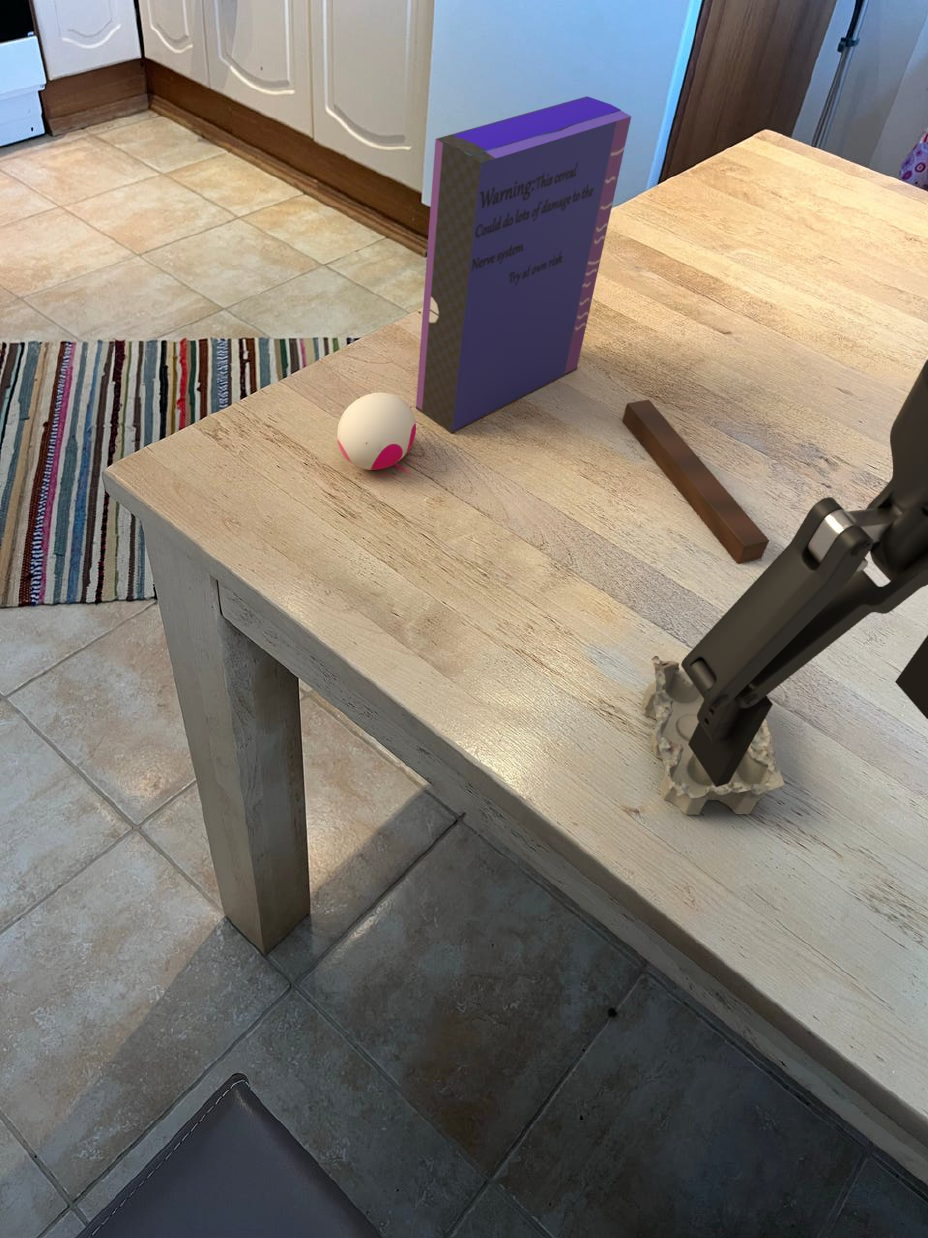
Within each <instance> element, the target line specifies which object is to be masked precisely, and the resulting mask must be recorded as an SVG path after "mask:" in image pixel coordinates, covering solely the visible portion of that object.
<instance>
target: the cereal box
mask: <svg viewBox="0 0 928 1238" xmlns="http://www.w3.org/2000/svg"><path fill="white" fill-rule="evenodd" d="M631 120H632V116H631V115H630V114H628V113H626V112H625V111H623V110H622V109H620V108H618V107H617V106H615V105H613V104H611V103H608V102H605V101H602V100H599V99H596V98H594V97H591V96H587V95H586V96H583V97H579V98H576V99H573V100H569V101H565V102H562V103H558V104H555V105H550V106H548V107H544V108H541V109H537V110H533V111H529V112H526V113H523V114H519V115H516V116H512V117H508V118H505V119H501V120H498V121H494V122H490V123H487V124H484V125H480V126H476V127H472V128H469V129H465V130H463V131H458V132H454V133H452V134H448V135H443V136H441V137H436V138H435V140H434V155H433V169H432V184H431V194H430V195H431V197H430V209H429V224H428V237H427V238H428V239H427V251H426V262H425V263H426V264H425V278H424V291H423V303H422V304H423V306H422V317H421V331H420V334H421V335H420V347H419V360H418V371H417V372H418V373H417V385H416V400H415V410H417V411H419V412H420V413H422V414H423V415H425V416H426V417H428V418H429V419H430V420H432V422H434V423H436V424H437V425H439V426H440V427H442V428H443V429H444V430H446V431H447V432H449V433H450V434H454V433H456V432H458V431H460V430H461V429H464V428H466V427H467V426H470V425H472V424H473V423H475V422H478V421H479V420H481V419H484V418H485V417H487V416H489V415H491V414H493V413H495V412H497V411H498V410H501V409H503V408H504V407H507V406H508V405H510V404H512V403H514V402H516V401H518V400H519V399H522V398H524V397H526V396H527V395H530V394H532V393H534V392H535V391H538V390H540V389H541V388H544V387H545V386H547V385H549V384H551V383H553V382H555V381H557V380H559V379H561V378H563V377H565V376H567V375H569V374H571V373H573V372H575V371H577V369H578V366H579V361H580V356H581V352H582V348H583V343H584V338H585V334H586V330H587V329H586V328H587V325H588V320H589V314H590V311H591V306H592V300H593V297H594V296H593V295H594V292H595V286H596V282H597V277H598V273H599V270H600V264H601V259H602V255H603V250H604V245H605V241H606V236H607V233H608V232H607V231H608V226H609V221H610V217H611V212H612V209H613V204H614V199H615V195H616V189H617V185H618V180H619V176H620V170H621V166H622V162H623V157H624V153H625V148H626V143H627V139H628V135H629V129H630V125H631Z"/></svg>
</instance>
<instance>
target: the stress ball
mask: <svg viewBox="0 0 928 1238" xmlns="http://www.w3.org/2000/svg"><path fill="white" fill-rule="evenodd" d="M412 408H413V405H411V406H410V405H409V404H408V403H407V402H406V401H405V400H404V399H403V398H401V397H399V396H397V395H395V394H393V393H389V392H371V393H367V394H365V395H363V396H361V397H359V398H358V399H356V400H354V401H353V402H352V403H351V404H350V405H349V406H348V407H347V408H346V409H345V411H344V412H343V413H342V415H341V417H340V420H339V422H338V426H337V431H336V438H337V444H338V447H339V450H340V452H341V454H342V455H343V456H344V458H345V459H346V461H348V462H349V463H350V464H352V465H353V466H355V467H357V468H360V469H362V470H368V471H374V470H375V471H376V470H383V469H386V468H389V467H392V466H395V467H396V468H398V469H400V470H402V471H405V472H407V473H408V474H411V475H413V473H412V472H410V471H408V470H407V469H405V468H404V467H402V466H401V465H399V464H397V463H398V462H399V461H400V460H401V459H402V458H404V457H405V456H406V455H407V454H408V452H409V450H410V449H411V448H412V446H413V443H414V441H415V439H416V433H417V421H416V416H415V414H414V412H413V410H412Z"/></svg>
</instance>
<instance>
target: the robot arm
mask: <svg viewBox="0 0 928 1238" xmlns="http://www.w3.org/2000/svg"><path fill="white" fill-rule="evenodd" d="M889 444H890V445H889V447H890V452H891V458H892V459H891V460H892V477H891V479H890V480H889V481H888V483H887V484H886V485H885V487H884V488H882V490H881V491H880V492H879V493H878V494H877V496H875V497H874V498H873V499H872V500H871V501H870V503H869V504H867V506H866V508H865V509H856V510H848V511H847V510H845V509H844V508H843V507H842V506H841V504H839V503H838V501H837V500H836V499H835V498H834V497H833V496H831V497H830V496H828V497H824V498H822V499H820V500H818V501H817V502H816V503H815V504H813V506H811V508H809V511H808V513H807V514H806V516H805V517H804V518H803V521H802V523H801V524H800V526H799V528H798V529H797V531H796V533H795V534H794V536H793V538H792V539H791V542H790V543H789V544H788V545H787V546H786V547H785V548H784V549H783V550H782V551H781V553H780V554H778V556H777V557H776V558H774V560H773V561H772V562H771V563H770V564H769V565H768V566H767V568H766V569H764V571H763V572H762V573H761V574H760V575H759V576H758V578H756V580H755V581H754V582H753V583H752V584H751V585H750V586H749V587H748V588H747V589H746V590H745V592H744V593H743V594H742V595H741V596H740V597H739V598H738V599H737V600H736V602H735V603H734V604H732V605H731V607H730V608H729V609H728V610H727V611H726V612H725V613H724V614H723V616H721V618H720V619H719V620H718V621H717V622H716V623H715V624H714V625H713V626H712V627H711V629H710V630H709V631H708V632H707V633H706V634H705V635H704V636H703V637H702V639H700V641H698V643H697V644H695V646H694V647H693V648H692V649H691V650H690V651H689V652H688V654H686V656H685V657H684V658H683V659H682V660H681V664H680V666H681V668H682V670H684V671H685V672H686V674H687V675H688V677H689V678H690V680H691V681H692V682H693V684H694V685H695V687H696V688H697V690H698V691H699V693H700V694H701V696H702V697H703V698H704V701H703V703H702V705H701V708H700V709H699V711H698V713H697V720H698V721H699V722H698V724H697V726H696V729H695V731H694V733H693V735H692V737H691V739H690V741H689V743H688V745H689V747H690V748H691V750H692V751H693V753H694V754H695V756H696V757H697V759H698V760H699V762H700V763H701V765H702V767H703V768H704V770H705V771H706V773H707V774H708V776H709V777H710V779H711V780H712V782H713V783H714V785H715V787H719V786H722V785H725V784H728V783H729V782H730V780H731V778H732V777H733V775H734V773H735V771H736V769H737V768H738V766H739V764H740V762H741V760H742V759H743V757H744V755H745V753H746V751H747V750H748V748H749V746H750V744H751V743H752V741H753V739H754V737H755V735H756V734H757V732H758V730H759V728H760V726H761V725H762V723H763V721H764V719H765V717H766V718H767V715H768V714H769V712H770V710H771V709H772V707H773V705H774V703H773V702H772V701H771V700H770V698H769V697H768V695H769V694H771V692H772V691H774V690H775V689H776V688H777V687H779V686H780V685H781V684H783V683H784V682H786V681H787V680H788V679H789V678H790V677H792V676H794V674H796V673H797V672H798V671H799V670H801V669H802V668H803V667H804V666H805V665H807V664H808V663H810V662H811V661H812V660H813V659H814V658H816V657H817V656H818V655H819V654H821V653H822V652H824V650H826V649H827V648H828V647H830V646H832V644H833V643H834V642H836V641H837V640H838V639H840V638H841V637H842V636H843V635H845V634H846V633H847V632H849V631H850V630H851V629H852V628H854V627H855V626H856V625H858V624H859V623H860V622H861V621H862V620H863V619H864V618H867V616H869V615H870V614H873V613H877V614H881V615H884V614H888V613H890V612H892V611H894V609H896V608H898V607H899V606H900V605H901V604H903V602H905V601H906V600H908V599H909V598H910V597H911V596H912V595H914V594H916V592H918V591H919V590H920V589H922V588H925V587H927V586H928V358H927V360H925V362H924V364H923V365H922V367H921V370H920V372H919V373H918V375H917V377H916V379H915V381H914V383H913V385H912V387H911V389H910V390H909V392H908V395H907V396H906V398H905V400H904V401H903V404H902V406H901V408H900V410H899V412H898V413H897V416H896V417H895V419H894V421H893V423H892V426H891V429H890V434H889ZM868 554H870V558H871V561H872V563H873V565H875V567H877V569H878V570H879V571H880V572H881V573H882V574H883V576H885V577H886V578H887V580H888V581H889V582H887V583H886V584H885V585H881V586H879V585H878V584H877V583H876V582H875V581H874V580H873V579H872V578H871V577H870V576H869V574H867V573H866V571H865V569H866V568H868V564H869V561H868V560H867V559H866V557H867V556H868ZM894 683H895V684H896V685H897V686H898V687H899V689H901V691H902V692H903V693H904V694H905V696H906V697H907V698H908V699H909V700H910V701H911V702H912V704H913V705H914V706H915V707H916V708H917V709H918V710H919V712H920V713H921V714H922V715H923V716H924V717H925V719H926V720H928V634H927V635H926V636H925V638H924V640H923V641H922V642H921V643H920V645H919V646H918V648H917V650H916V651H915V652H914V654H913V655H912V657H911V658H910V660H909V661H908V663H907V664H906V666H905V667H904V668H903V669H902V671H901V672H900V674H899V676H898V677H897V678H896V680H895V681H894Z"/></svg>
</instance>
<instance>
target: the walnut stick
mask: <svg viewBox="0 0 928 1238" xmlns="http://www.w3.org/2000/svg"><path fill="white" fill-rule="evenodd" d="M622 423H623V424H624V425H625V426H626V428H627V429H628V430H629V432H631V434H632V435H633V436H634V438H635V439H636V440H637V441H638V442H639V444H640V445H641V446H642V447H643V448H644V450H645V451H646V452H647V454H648V455H649V456H650V457H651V458H652V460H653V461H654V462H655V464H656V465H657V466H658V467H659V468H660V470H661V471H662V472H663V474H665V476H666V477H667V479H669V481H670V482H671V483H672V484H673V486H674V487H675V488H676V489H677V491H678V492H679V493H680V495H681V496H682V497H683V498H684V499H685V501H686V502H687V504H689V506H690V507H691V508H692V509H693V510H694V512H695V513H696V514H697V516H699V518H700V519H701V520H702V522H703V523H704V524H705V526H706V527H707V528H708V529H709V530H710V531H711V533H712V534H713V535H714V536H715V538H716V540H717V541H718V542H719V544H721V546H723V548H724V549H725V550H726V551H727V553H728V554H729V555H730V556H731V558H732V559H733V561H734V562H735V563H736V564H742V563H747V562H751V561H755V560H759V559H762V558H763V556H764V554H765V551H766V549H767V547H768V545H769V542H770V539H769V538H768V537H767V536H766V535H765V534H764V533H763V531H762V530H761V529H760V528H759V527H758V525H757V524H756V522H754V521H753V520H752V519H751V517H750V516H749V515H748V513H746V511H745V510H744V509H743V508H742V506H741V505H740V504H739V503H738V501H736V500H735V499H734V497H733V496H732V495H731V494H730V492H729V491H728V490H727V489H726V488H725V487H724V486H723V485H722V483H721V482H720V481H719V480H718V478H717V477H716V476H715V475H714V474H713V473H712V472H711V470H710V469H709V468H708V467H707V465H705V464H704V462H703V461H702V460H701V459H700V457H698V455H697V454H696V453H695V452H694V451H693V450H692V448H691V447H690V446H689V445H688V443H687V442H686V441H685V440H684V438H682V436H681V435H680V434H679V433H678V432H677V430H676V429H675V428H674V427H673V426H672V425H671V424H670V423H669V421H668V420H667V419H666V418H665V417H664V415H663V414H662V413H661V412H660V411H659V409H658V408H657V407H656V406H655V405H654V403H652V401H651V400H650V399H643V400H639V401H632V402H627V403H626V405H625V409H624V412H623V416H622Z"/></svg>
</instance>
